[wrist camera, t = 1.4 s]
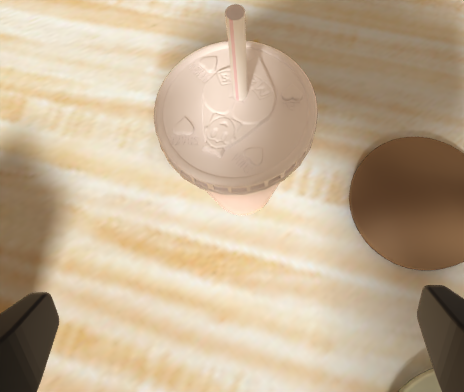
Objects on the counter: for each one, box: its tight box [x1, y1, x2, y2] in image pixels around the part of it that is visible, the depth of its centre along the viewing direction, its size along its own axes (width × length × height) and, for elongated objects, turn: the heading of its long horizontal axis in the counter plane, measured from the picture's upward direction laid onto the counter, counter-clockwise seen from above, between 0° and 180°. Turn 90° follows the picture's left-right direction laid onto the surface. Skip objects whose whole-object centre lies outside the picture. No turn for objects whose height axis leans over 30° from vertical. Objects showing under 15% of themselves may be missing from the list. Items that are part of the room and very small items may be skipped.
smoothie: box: [154, 4, 317, 215], centre depth 17 cm, size 6×6×14 cm
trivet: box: [349, 137, 464, 270], centre depth 23 cm, size 8×8×1 cm
